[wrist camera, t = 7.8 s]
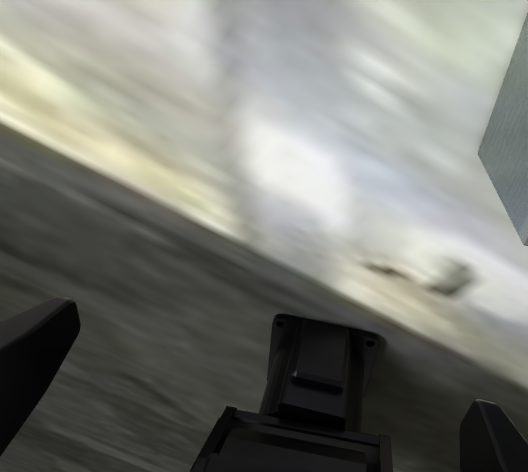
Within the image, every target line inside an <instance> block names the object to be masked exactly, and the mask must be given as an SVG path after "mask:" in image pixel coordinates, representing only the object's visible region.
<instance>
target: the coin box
mask: <svg viewBox="0 0 528 472" xmlns="http://www.w3.org/2000/svg"><path fill="white" fill-rule="evenodd" d="M478 155H479V157H480V159H481V161H482V163H483V165H484V167H485V169H486V171H487V173H488V175H489V177H490V179H491V181H492V183H493V185H494V187H495V189H496V191H497V193H498V195H499V197H500V199H501V201H502V203H503V205H504V207H505V209H506V211H507V213H508V215H509V217H510V219H511V221H512V223H513V225H514V227H515V229H516V231H517V233H518V235H519V237H520V239H521V241H522V243H523V245H526V246H528V13H527V16H526V19H525V22H524V25H523V28H522V30H521V33H520V36H519V39H518V42H517V44H516V47H515V50H514V53H513V56H512V58H511V61H510V64H509V67H508V70H507V72H506V75H505V78H504V81H503V84H502V87H501V89H500V92H499V95H498V98H497V101H496V103H495V106H494V109H493V112H492V115H491V117H490V120H489V123H488V126H487V129H486V131H485V134H484V137H483V140H482V143H481V145H480V148H479V151H478Z"/></svg>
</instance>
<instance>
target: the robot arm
mask: <svg viewBox="0 0 528 472" xmlns="http://www.w3.org/2000/svg"><path fill="white" fill-rule="evenodd" d="M279 321H281V322H283V323H280V322H279ZM80 325H81V324H80V319H79V314H78V310H77V305H76V302H75V301H74V300H73V299H70V298H66V297H62V296H56V297H53V298H51V299H49V300H47V301H44V302H42V303H40V304H38V305H36V306H33V307H31V308H29V309H27V310H25V311H22V312H20V313H18V314H16V315H14V316H11V317H9V318H7V319H5V320H3V321H0V456H1V455H2V454H3V452H4V451H5V449H6V448H7V446H8V445H9V444H10V442H11V441H12V439H13V438H14V436H15V435H16V434H17V432H18V431H19V429H20V428H21V426H22V425H23V424H24V422H25V421H26V419H27V418H28V417H29V415H30V414H31V412H32V411H33V409H34V408H35V407H36V405H37V404H38V402H39V401H40V399H41V398H42V396H43V395H44V393H45V392H46V390H47V389H48V387H49V385H50V384H51V382H52V380H53V378H54V377H55V375H56V373H57V371H58V370H59V368H60V366H61V364H62V362H63V361H64V359H65V357H66V355H67V354H68V352H69V350H70V348H71V347H72V345H73V343H74V341H75V339H76V338H77V336H78V334H79V331H80ZM369 341H373V342H369ZM378 347H379V338H378V336H377V335H376V334H373V333H369V332H365V331H360V330H355V329H350V328H346V327H341V326H336V325H331V324H327V323H322V322H317V321H313V320H308V319H303V318H298V317H294V316H289V315H284V314H277V315H276V316H275V317H274V320H273V323H272V334H271V344H270V355H269V366H268V376H267V386H266V389H265V393H264V396H263V400H262V403H261V407H260V410H259V414H258V413H252V412H247V411H242V410H237V408H235V407H229V406H227V407H226V409H225V411H224V412H223V414H222V416H221V418H219V419H218V421H217V423H216V424H215V426H214V428H213V430H212V432H211V433H210V435H209V437H208V439H207V441H206V442H205V444H204V446H203V448H202V450H201V452H200V453H199V455H198V457H197V459H196V461H195V462H194V464H193V466H192V468H191V470H190V472H393V466H392V453H391V439H390V436H386V435H381V434H379V436H376V435H370V434H365V433H361V421H362V402H363V397H364V394H365V390H366V387H367V383H368V380H369V377H370V373H371V370H372V367H373V363H374V360H375V357H376V353H377V350H378ZM460 469H461V472H528V442H527V441H526V440H525V438H524V437H523V436H522V434H521V433H520V432H519V431H518V429H517V428H516V427H515V425H514V424H513V423H512V421H511V420H510V419H509V417H508V416H507V415H506V413H505V412H504V411H503V409H502V408H501V407H500V406H499V405H498V404H496V403H493V402H489V401H485V400H481V399H477V400H475V401H474V402H473V403H472V405H471V407H470V408H469V410H468V412H467V414H466V415H465V417H464V419H463V420H462V423H461V426H460Z"/></svg>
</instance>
